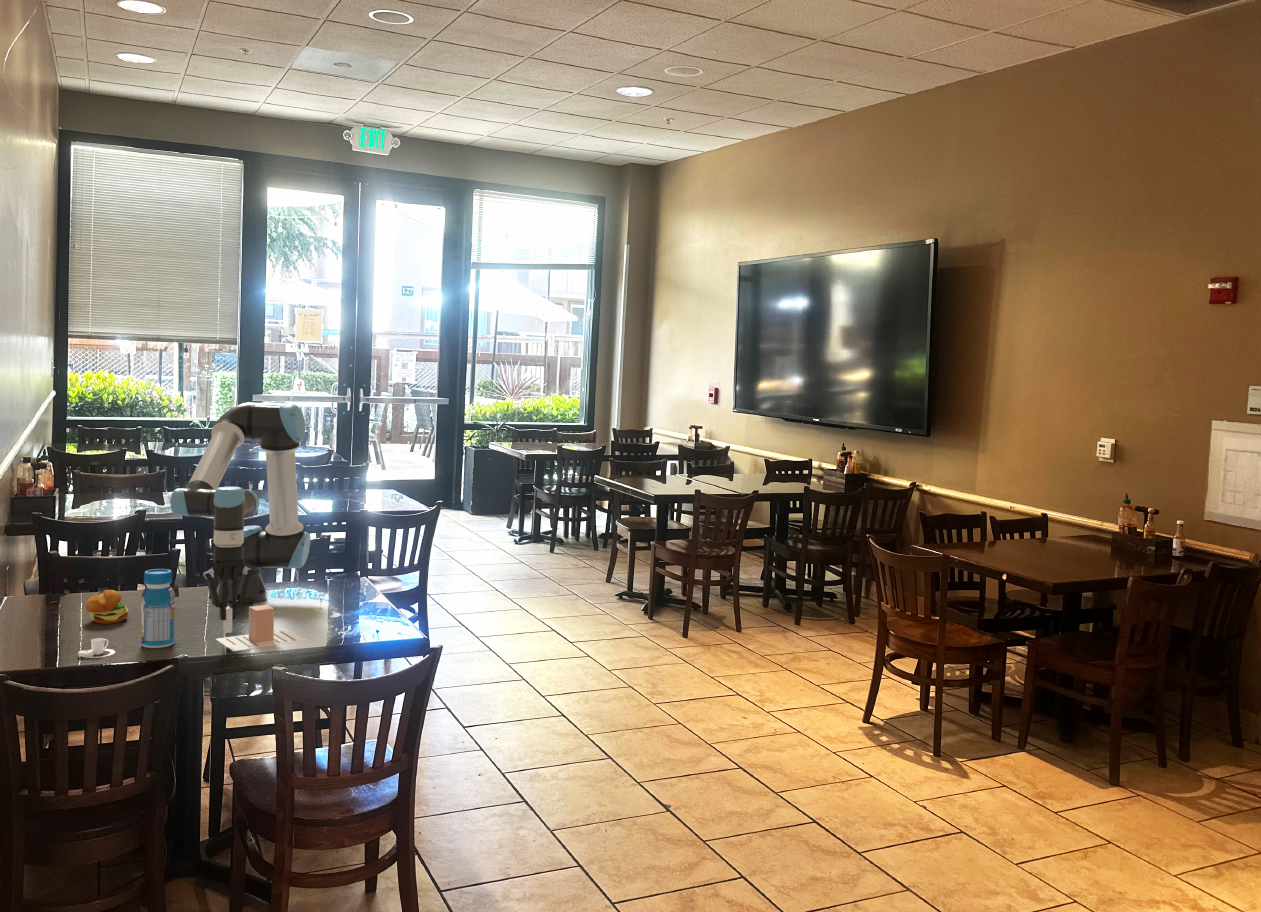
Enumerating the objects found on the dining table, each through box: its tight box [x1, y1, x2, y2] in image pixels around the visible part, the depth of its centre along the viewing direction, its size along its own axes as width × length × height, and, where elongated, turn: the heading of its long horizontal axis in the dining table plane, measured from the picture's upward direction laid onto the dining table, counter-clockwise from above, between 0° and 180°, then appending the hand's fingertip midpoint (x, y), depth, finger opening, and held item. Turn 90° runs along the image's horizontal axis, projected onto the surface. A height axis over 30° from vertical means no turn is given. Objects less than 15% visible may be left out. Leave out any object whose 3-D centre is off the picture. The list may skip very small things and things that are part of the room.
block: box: [248, 604, 275, 643], centre depth 280 cm, size 5×5×9 cm
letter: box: [215, 628, 307, 652], centre depth 280 cm, size 14×20×1 cm
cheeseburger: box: [85, 589, 129, 625], centre depth 293 cm, size 10×11×10 cm
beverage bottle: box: [140, 568, 176, 649], centre depth 271 cm, size 8×8×20 cm
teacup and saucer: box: [77, 637, 116, 659], centre depth 262 cm, size 9×8×4 cm
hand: (227, 631), depth 274 cm, fingers closed
